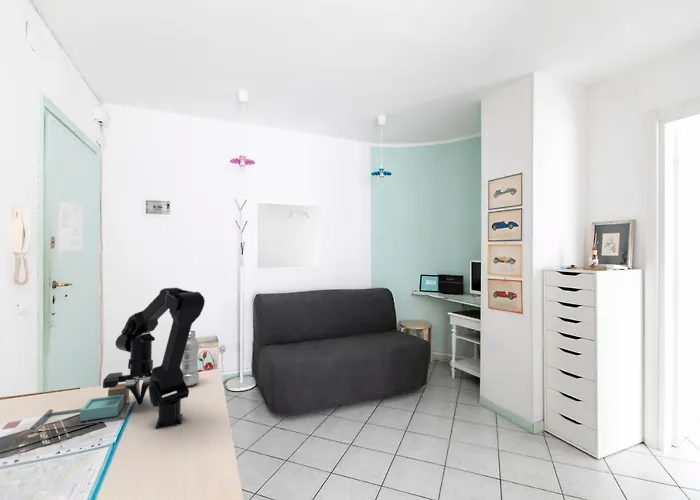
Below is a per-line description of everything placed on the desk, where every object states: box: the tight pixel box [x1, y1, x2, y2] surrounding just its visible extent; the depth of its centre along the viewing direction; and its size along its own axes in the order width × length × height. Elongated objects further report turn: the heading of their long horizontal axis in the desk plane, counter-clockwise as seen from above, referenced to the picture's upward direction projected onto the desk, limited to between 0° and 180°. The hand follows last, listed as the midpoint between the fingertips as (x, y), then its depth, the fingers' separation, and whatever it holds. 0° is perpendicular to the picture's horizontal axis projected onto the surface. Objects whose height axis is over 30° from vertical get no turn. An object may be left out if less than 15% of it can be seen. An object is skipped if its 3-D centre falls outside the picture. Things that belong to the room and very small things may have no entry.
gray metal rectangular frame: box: [30, 401, 134, 431], centre depth 102 cm, size 12×22×2 cm, turn 113°
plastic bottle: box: [181, 330, 200, 387], centre depth 129 cm, size 6×7×20 cm
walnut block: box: [107, 382, 130, 403], centre depth 114 cm, size 5×5×5 cm
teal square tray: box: [79, 395, 124, 422], centre depth 104 cm, size 9×9×4 cm
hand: (140, 404), depth 108 cm, fingers closed
